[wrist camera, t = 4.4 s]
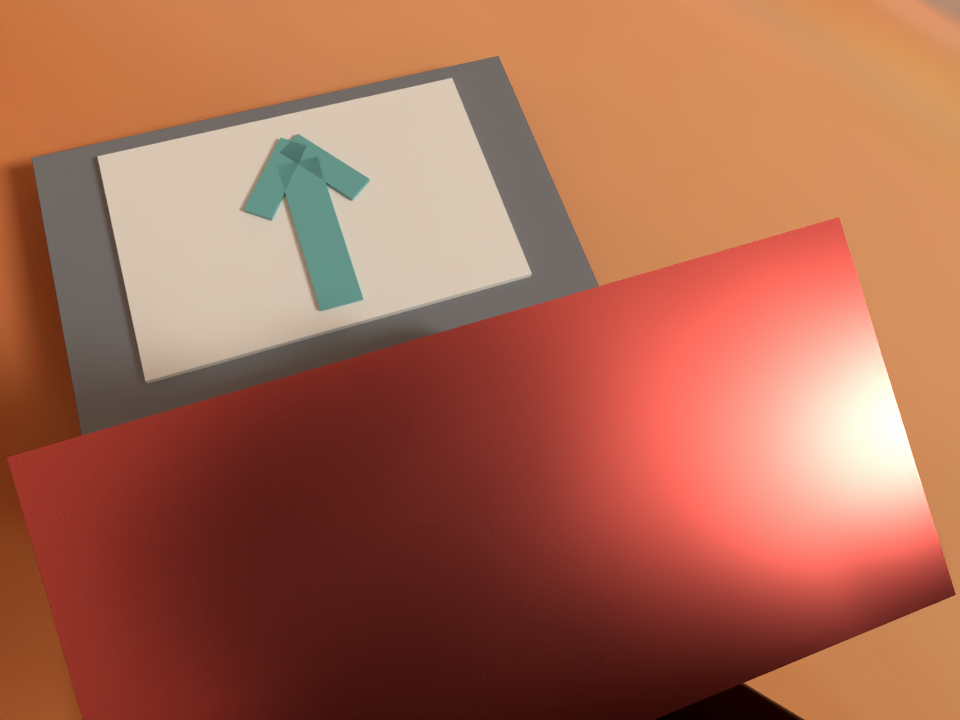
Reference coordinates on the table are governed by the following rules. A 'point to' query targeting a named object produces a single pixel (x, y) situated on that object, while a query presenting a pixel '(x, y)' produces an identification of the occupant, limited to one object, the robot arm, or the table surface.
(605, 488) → the lever
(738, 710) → the robot arm
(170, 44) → the table surface
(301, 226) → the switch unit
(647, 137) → the table surface
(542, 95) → the table surface
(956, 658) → the table surface
